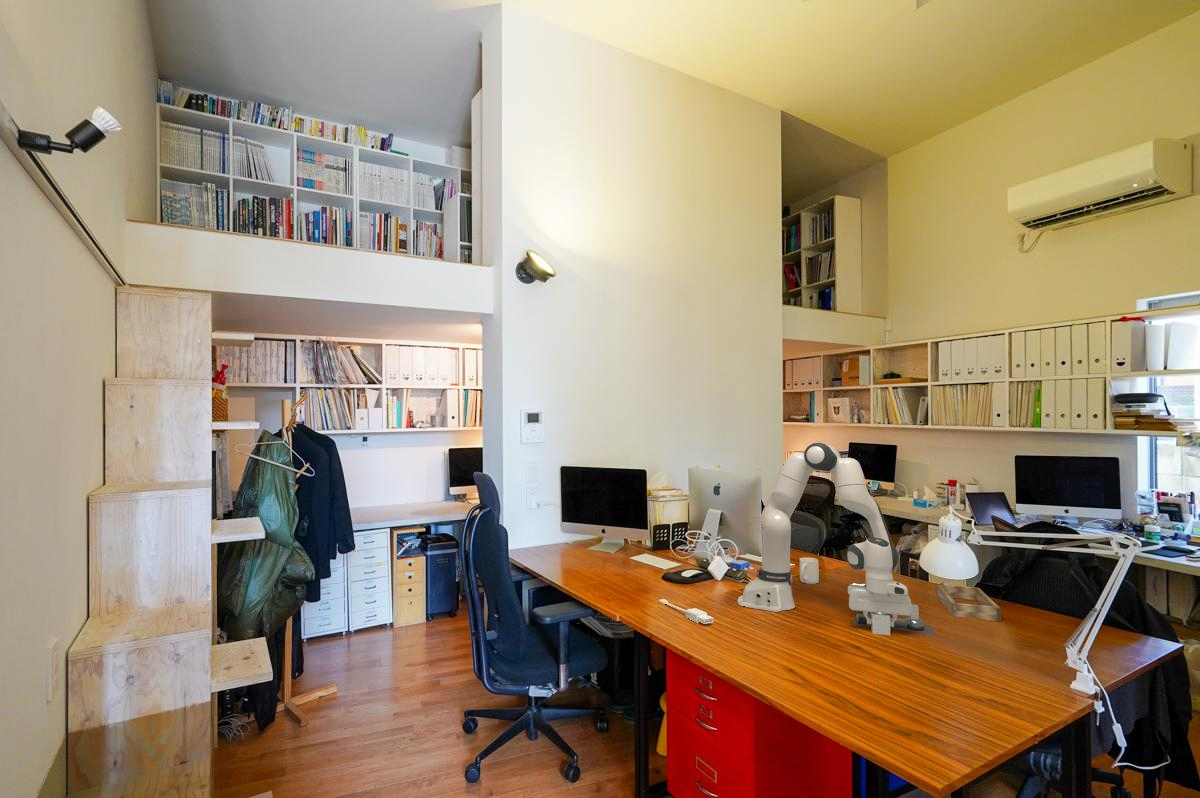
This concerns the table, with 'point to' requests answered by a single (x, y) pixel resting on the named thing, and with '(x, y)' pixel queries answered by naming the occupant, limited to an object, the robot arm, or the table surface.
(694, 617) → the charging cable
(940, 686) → the table surface
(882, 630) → the socket
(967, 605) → the frame
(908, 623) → the ratchet
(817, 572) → the mug
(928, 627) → the tool mat
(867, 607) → the robot arm
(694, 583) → the table surface
